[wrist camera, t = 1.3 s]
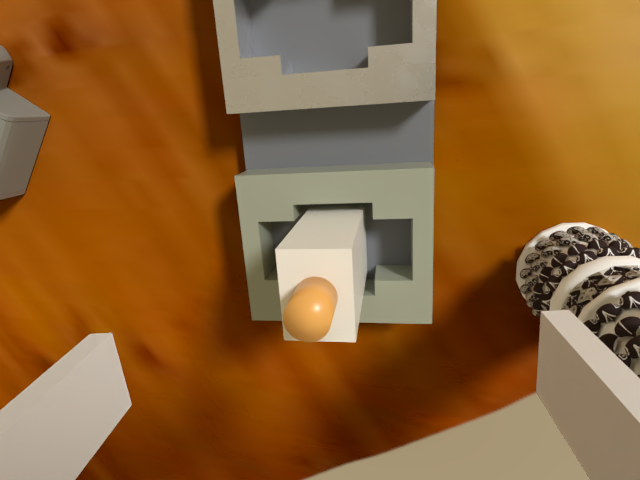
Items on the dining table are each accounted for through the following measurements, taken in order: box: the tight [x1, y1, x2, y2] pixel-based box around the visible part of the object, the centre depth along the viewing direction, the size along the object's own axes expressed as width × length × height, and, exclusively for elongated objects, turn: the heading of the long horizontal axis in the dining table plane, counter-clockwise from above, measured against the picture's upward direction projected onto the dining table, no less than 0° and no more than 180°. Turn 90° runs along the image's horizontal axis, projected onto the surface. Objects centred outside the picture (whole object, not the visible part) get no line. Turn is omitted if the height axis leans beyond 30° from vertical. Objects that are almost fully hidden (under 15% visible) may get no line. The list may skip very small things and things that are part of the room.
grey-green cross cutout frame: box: [234, 162, 434, 324], centre depth 35 cm, size 12×15×4 cm
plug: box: [275, 203, 367, 342], centre depth 30 cm, size 6×4×15 cm
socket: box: [213, 0, 437, 114], centre depth 30 cm, size 12×15×4 cm
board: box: [240, 0, 434, 279], centre depth 35 cm, size 30×16×2 cm, turn 4°
